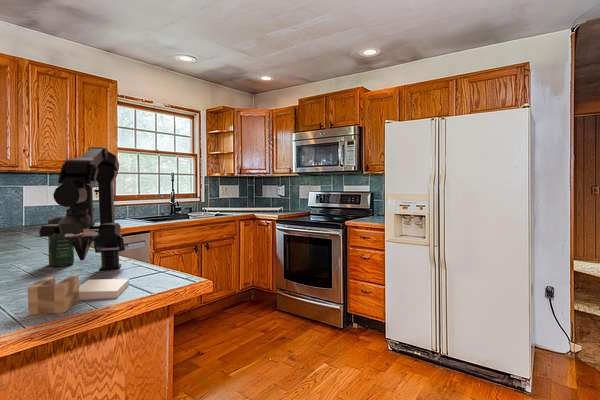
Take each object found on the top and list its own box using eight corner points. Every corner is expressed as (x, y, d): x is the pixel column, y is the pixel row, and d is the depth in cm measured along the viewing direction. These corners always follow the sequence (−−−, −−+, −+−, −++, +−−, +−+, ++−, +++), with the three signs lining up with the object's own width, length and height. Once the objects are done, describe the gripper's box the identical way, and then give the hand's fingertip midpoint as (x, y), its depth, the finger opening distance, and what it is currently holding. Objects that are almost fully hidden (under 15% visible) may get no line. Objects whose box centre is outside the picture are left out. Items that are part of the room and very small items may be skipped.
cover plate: (88, 279, 102) (129, 279, 104) (88, 287, 102) (128, 286, 104) (71, 291, 90) (116, 290, 92) (70, 300, 90) (116, 299, 92)
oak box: (47, 302, 88) (46, 277, 88) (79, 300, 90) (78, 275, 89) (28, 314, 80) (27, 287, 80) (64, 312, 81) (63, 285, 81)
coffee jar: (76, 265, 130) (74, 215, 129) (50, 268, 125) (48, 217, 124) (72, 260, 137) (71, 214, 137) (47, 263, 132) (46, 215, 132)
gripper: (26, 206, 86) (28, 268, 87) (107, 205, 90) (109, 265, 91) (48, 204, 97) (50, 259, 98) (120, 203, 101) (121, 256, 102)
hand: (82, 260), depth 97 cm, fingers closed
